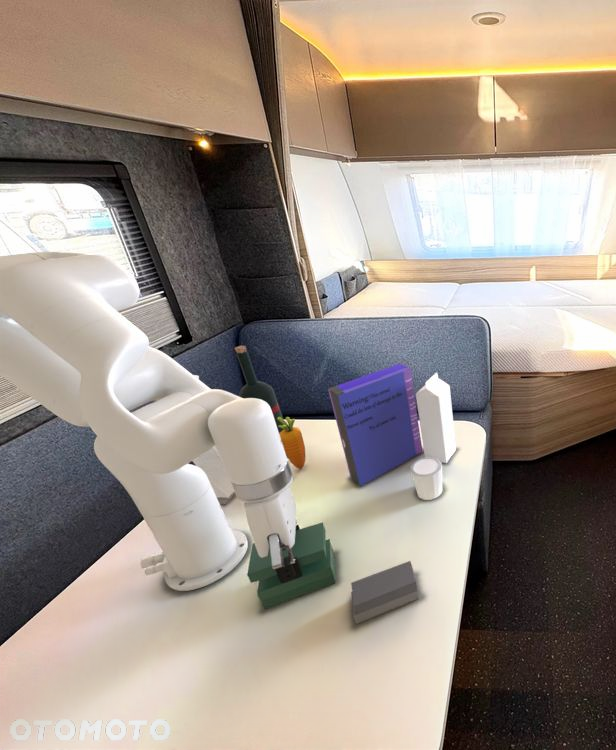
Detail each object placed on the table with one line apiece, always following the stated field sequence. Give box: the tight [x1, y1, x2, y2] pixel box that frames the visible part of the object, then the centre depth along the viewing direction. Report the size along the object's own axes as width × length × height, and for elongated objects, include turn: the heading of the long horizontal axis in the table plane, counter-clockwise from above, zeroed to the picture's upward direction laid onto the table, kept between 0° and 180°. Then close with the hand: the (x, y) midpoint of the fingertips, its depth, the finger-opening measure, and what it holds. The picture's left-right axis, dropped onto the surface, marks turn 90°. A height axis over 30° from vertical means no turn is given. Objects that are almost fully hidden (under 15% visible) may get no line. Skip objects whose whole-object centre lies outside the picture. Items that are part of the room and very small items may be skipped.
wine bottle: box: [234, 345, 288, 458], centre depth 96 cm, size 8×10×30 cm
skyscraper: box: [191, 374, 236, 506], centre depth 83 cm, size 8×8×28 cm
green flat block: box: [246, 521, 327, 584], centre depth 64 cm, size 11×6×2 cm, turn 114°
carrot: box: [277, 416, 306, 470], centre depth 92 cm, size 5×5×15 cm
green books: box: [256, 538, 337, 610], centre depth 66 cm, size 11×6×4 cm, turn 114°
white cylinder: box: [409, 456, 443, 501], centre depth 85 cm, size 7×7×7 cm
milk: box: [415, 372, 457, 464], centre depth 94 cm, size 6×6×22 cm
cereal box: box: [327, 363, 424, 488], centre depth 90 cm, size 17×5×24 cm, turn 136°
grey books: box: [350, 560, 420, 625], centre depth 63 cm, size 10×4×4 cm, turn 114°
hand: (292, 560), depth 65 cm, fingers closed on green flat block, 6 cm apart
